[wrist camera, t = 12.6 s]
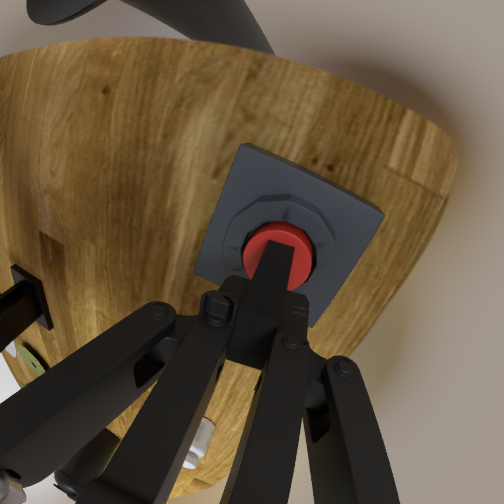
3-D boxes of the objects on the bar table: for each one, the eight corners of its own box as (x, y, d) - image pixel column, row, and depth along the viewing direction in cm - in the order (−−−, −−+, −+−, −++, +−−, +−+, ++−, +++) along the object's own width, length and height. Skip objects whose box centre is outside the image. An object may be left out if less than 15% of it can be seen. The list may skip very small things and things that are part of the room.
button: (264, 209, 17) (258, 217, 15) (323, 238, 16) (324, 249, 15) (240, 262, 18) (233, 274, 17) (294, 288, 18) (292, 302, 17)
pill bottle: (181, 414, 34) (161, 455, 28) (202, 412, 33) (182, 457, 26) (200, 430, 35) (183, 469, 29) (221, 428, 34) (205, 471, 27)
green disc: (28, 337, 40) (23, 342, 38) (61, 378, 43) (56, 384, 41) (18, 342, 44) (13, 347, 42) (46, 378, 47) (42, 383, 45)
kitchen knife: (17, 363, 50) (4, 354, 48) (20, 357, 52) (8, 348, 50) (5, 309, 36) (-12, 296, 34) (10, 301, 38) (-6, 288, 37)
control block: (248, 142, 18) (232, 144, 14) (378, 206, 18) (392, 224, 14) (203, 259, 22) (182, 284, 19) (313, 311, 22) (311, 344, 19)
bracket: (15, 263, 31) (-54, 313, 17) (41, 281, 30) (-35, 342, 16) (27, 307, 35) (-30, 358, 21) (53, 327, 34) (-7, 387, 20)
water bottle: (82, 415, 50) (40, 475, 30) (107, 426, 47) (63, 495, 27) (104, 437, 54) (68, 494, 33) (129, 447, 51) (93, 512, 30)
